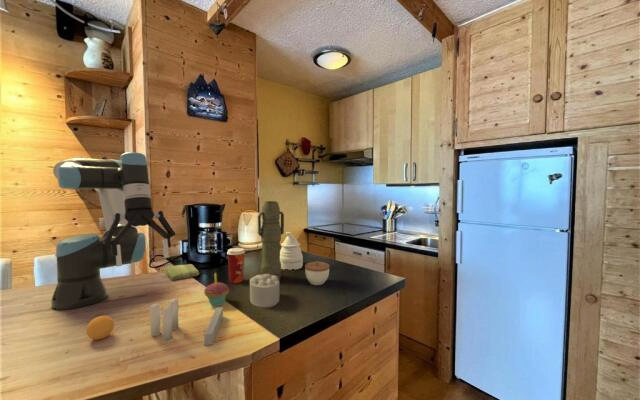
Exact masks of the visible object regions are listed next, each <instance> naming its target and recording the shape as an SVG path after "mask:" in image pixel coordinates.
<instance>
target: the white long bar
mask: <svg viewBox="0 0 640 400" xmlns="http://www.w3.org/2000/svg"><path fill="white" fill-rule="evenodd" d="M223 317H224V307H222V306H221V307H216V308H215V310H214V312H213V314H212V317H211V318H210V320H209V323H208V326H207V328H206V330H205V332H204V334H203V339H204V340H203V341H204V343H203V344H204V345H203V346H213V344H214V342H215V339H216V337H217V336H216V335H217V333H218V331H219V328H220V325H221V322H222V320H223Z"/></svg>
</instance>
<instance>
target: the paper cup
mask: <svg viewBox="0 0 640 400" xmlns="http://www.w3.org/2000/svg"><path fill="white" fill-rule="evenodd" d="M245 253H246V251H245V249H244V248H242V247H234V248H229V249H227V252H226V254H227V263H228V266H227V267H228V276H229V277H228V279H229V283H231V284H239V283H240V284H241V283H242V282H243V281H244V270H245V268H244V267H245Z"/></svg>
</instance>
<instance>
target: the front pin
mask: <svg viewBox="0 0 640 400" xmlns="http://www.w3.org/2000/svg"><path fill="white" fill-rule="evenodd" d="M149 314H150V315H149V316H150V320H149V321H150V336H151V337H157V336H159V335H161V333H162V332H161V331H162V330H161V328H162V327H161V304H160V303H159V302H158V303H152V304H150V306H149Z"/></svg>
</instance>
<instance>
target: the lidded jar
mask: <svg viewBox="0 0 640 400" xmlns="http://www.w3.org/2000/svg"><path fill="white" fill-rule="evenodd" d="M304 268H305V269H304V271H305V277H306V279H307V281H308V282H309V284H310V285H313V286H321V285H324V284H325V283H326V281H327V280H328V279H329V275H330V268H331V267H330V264H329V263H327V262H322V261H318V260H316V261H312V262H311V261H310V262H308V263H305V265H304Z"/></svg>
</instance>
